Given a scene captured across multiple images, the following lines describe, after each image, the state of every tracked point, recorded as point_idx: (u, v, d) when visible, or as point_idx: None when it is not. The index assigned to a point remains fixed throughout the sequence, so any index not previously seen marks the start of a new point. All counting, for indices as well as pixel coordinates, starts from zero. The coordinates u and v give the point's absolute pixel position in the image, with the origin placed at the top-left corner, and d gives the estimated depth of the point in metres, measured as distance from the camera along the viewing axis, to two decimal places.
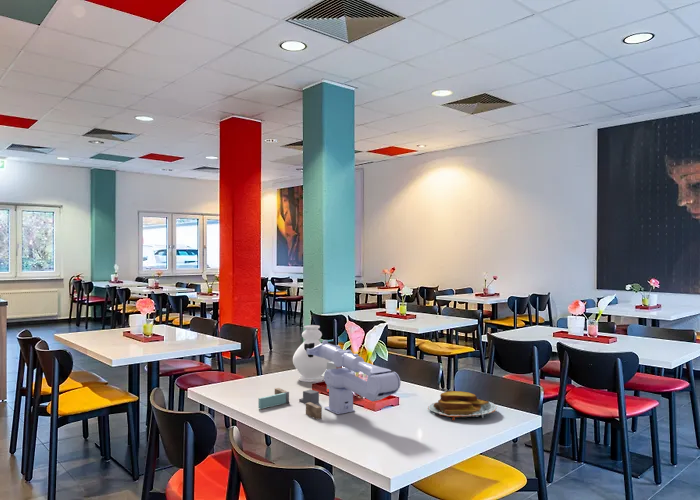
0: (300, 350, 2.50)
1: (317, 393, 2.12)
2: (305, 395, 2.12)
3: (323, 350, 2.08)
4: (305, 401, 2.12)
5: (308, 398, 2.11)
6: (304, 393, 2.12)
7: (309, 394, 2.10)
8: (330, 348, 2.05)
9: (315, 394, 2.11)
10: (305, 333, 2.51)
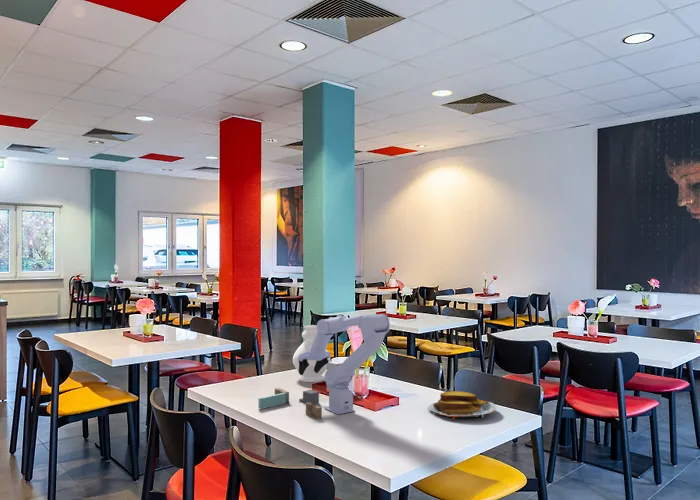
0: (300, 350, 2.50)
1: (317, 393, 2.12)
2: (305, 395, 2.12)
3: (312, 346, 2.11)
4: (305, 401, 2.12)
5: (308, 398, 2.11)
6: (304, 393, 2.12)
7: (309, 394, 2.10)
8: None
9: (315, 394, 2.11)
10: (305, 333, 2.51)
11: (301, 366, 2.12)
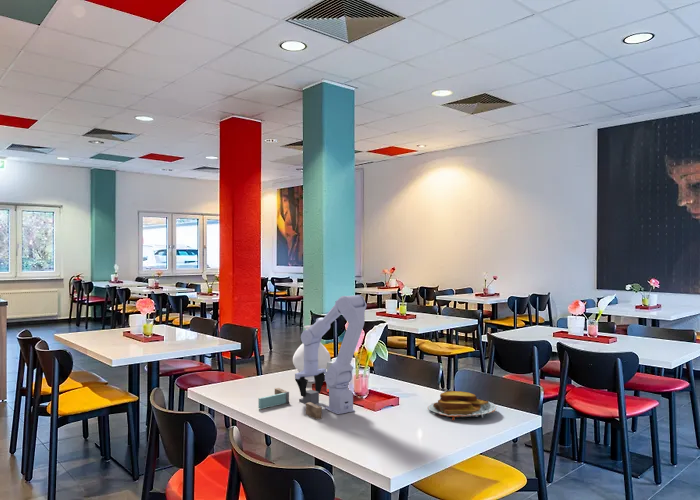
0: (300, 350, 2.50)
1: (317, 393, 2.12)
2: None
3: (304, 363, 2.12)
4: (305, 401, 2.12)
5: (308, 398, 2.11)
6: None
7: (309, 394, 2.10)
8: None
9: (315, 394, 2.11)
10: None
11: (301, 387, 2.10)
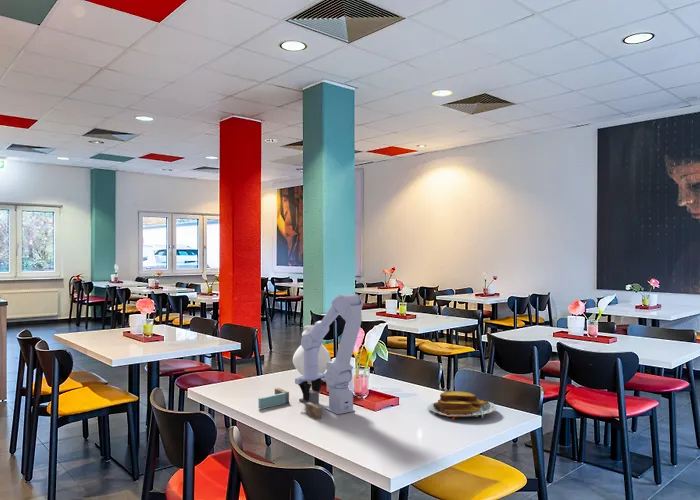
0: (300, 350, 2.50)
1: (317, 393, 2.12)
2: None
3: (304, 368, 2.12)
4: (305, 401, 2.12)
5: None
6: None
7: (309, 394, 2.10)
8: None
9: (315, 394, 2.11)
10: (305, 333, 2.51)
11: (304, 391, 2.11)
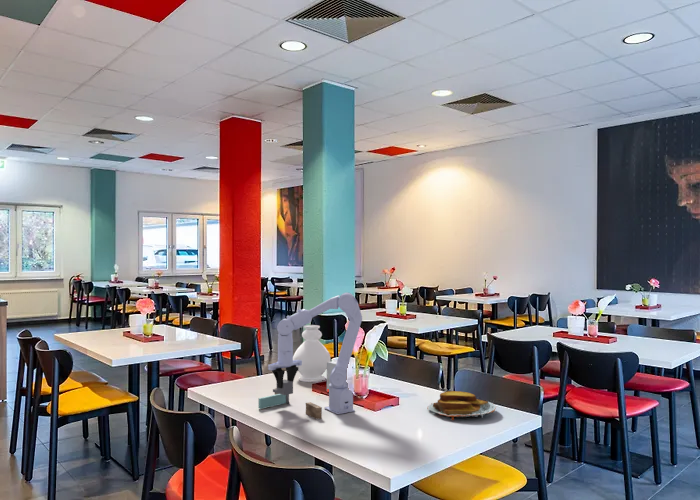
0: (300, 350, 2.50)
1: (291, 383, 2.03)
2: None
3: (278, 354, 2.03)
4: (279, 391, 2.03)
5: (281, 388, 2.02)
6: None
7: None
8: (278, 346, 2.03)
9: (289, 384, 2.02)
10: (305, 333, 2.51)
11: (278, 378, 2.02)
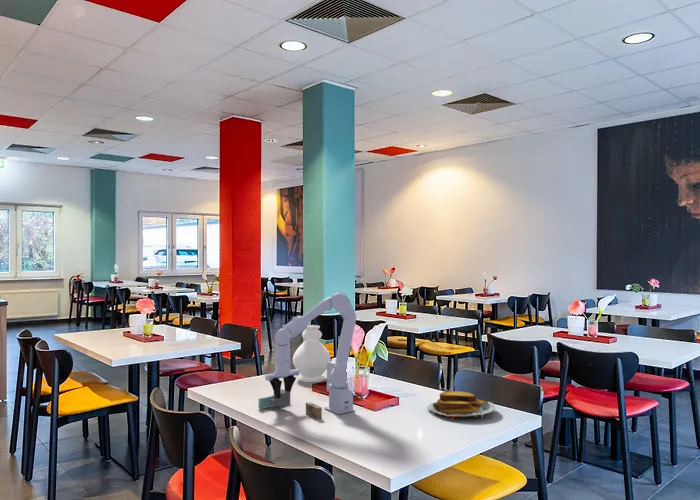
0: (300, 350, 2.50)
1: (288, 393, 2.02)
2: None
3: (275, 364, 2.02)
4: (276, 401, 2.02)
5: (279, 398, 2.01)
6: None
7: (280, 394, 2.01)
8: (276, 356, 2.01)
9: (286, 394, 2.02)
10: (305, 333, 2.51)
11: (275, 389, 2.01)
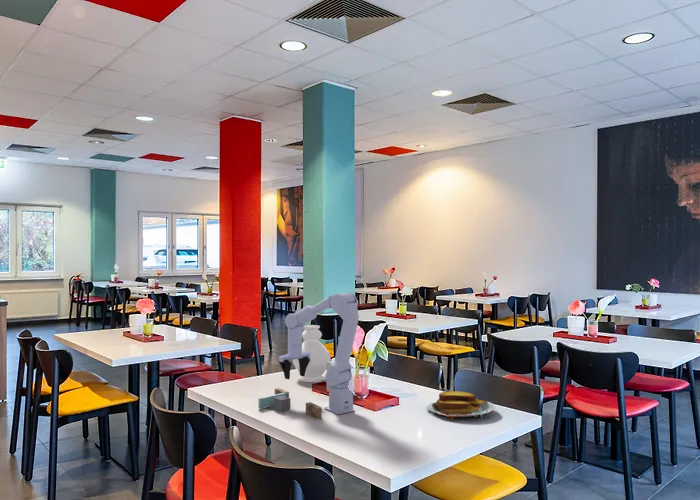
0: None
1: (288, 399, 2.02)
2: (276, 401, 2.02)
3: (288, 346, 2.15)
4: (276, 408, 2.02)
5: (279, 405, 2.01)
6: (275, 400, 2.03)
7: (280, 401, 2.01)
8: None
9: (286, 401, 2.01)
10: (305, 333, 2.51)
11: (285, 370, 2.13)
